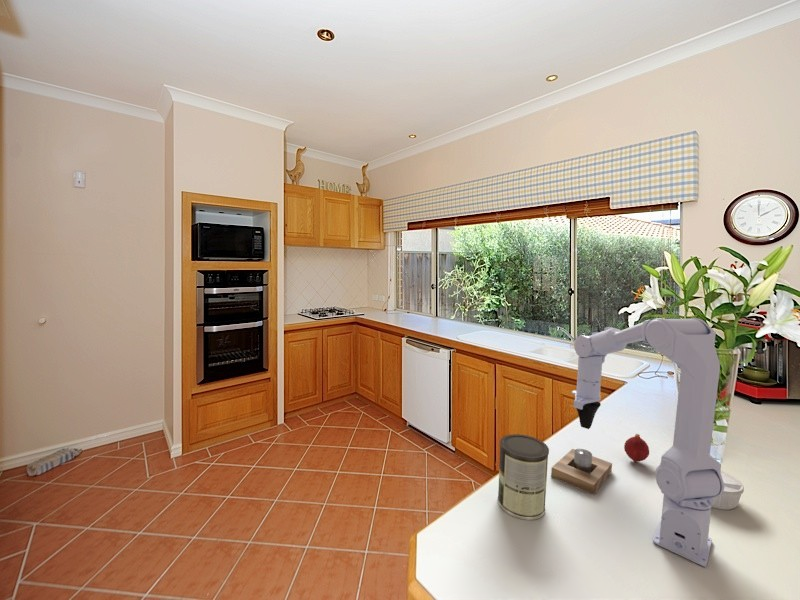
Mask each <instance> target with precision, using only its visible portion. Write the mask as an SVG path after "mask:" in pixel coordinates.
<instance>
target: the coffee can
mask: <svg viewBox="0 0 800 600" xmlns="http://www.w3.org/2000/svg"><path fill="white" fill-rule="evenodd" d="M549 453H550V448H549V446H548V445H547V444H546V443H545V442H544V441H542V440H540V439H538V438H537V437H533V436H530V435H525V434H519V433H518V434H514V433H513V434H507V435H505V436H503V437H501V438H500V439H499V470H498V472H499V473H498V492H497V494H498V495H497V504H498V505H499V507H500V508H501V510H503V511H504V512H505V513H506V514H508V515H509V516H512V517H514V518H516V519H520V520H524V521H525V520H526V521H532V520H537V519H540V518H542V517H543V516H544V515H545V513H546V495H547V481H548V480H547V479H548V478H547V477H548V464H549V463H548V461H549V460H548V459H549Z"/></svg>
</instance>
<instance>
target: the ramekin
mask: <svg viewBox="0 0 800 600" xmlns="http://www.w3.org/2000/svg"><path fill="white" fill-rule="evenodd" d="M721 476H722V479H723V482H724V491H723V493H722V494H721V495H720V496H717V497H715V499H714V503H712V505H711V508H714V509H716V510H717V509H718V510H725V511H726V510H733V509H735V508H736V507H738V505H739V502H740V499H741V497H742V495H743V493H744V490H745V487H744V484H743V483H742V481H740V480H739V479H737V478H736V477H735V476H733V475H731V474H729V472H725V471H723V470H721Z"/></svg>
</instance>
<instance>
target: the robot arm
mask: <svg viewBox="0 0 800 600" xmlns="http://www.w3.org/2000/svg"><path fill="white" fill-rule="evenodd" d="M716 335H717V333H716V331H715V330H714V329H713V328H712V327H711V326H710V325H709V324H708V323H707V322H705V320H702V319H701V318H697V317H696V318H695V317H691V318H663V317H662V318H661V317H660V318H658V317H656V318H653V319H648V320H644V321H642V322H640V323H638V324H635V325H632V326H629V327H627V328H624V329H618V328H616V327H612V326H607V327H604V329H603V330H602V331H600V332H598V331H595V332H591V334H590V335H583V334H581V335H579V336H577V337H576V339H575V340H574V345H573V346H574V351H575V353H576V355H577V356H578V359H577V360H578V361H577V362H578V363H577V373H576V375H577V376H576V377H577V378H576V390H572V391H571V395H573V396H575V397H574V400H573V409H574V408H575V409H576V411H577V414H578V419H579V424H580V427H581V428H583V429H587V430H589V429H591V427H592V424H593V422H594V419H595V416H596V414H597V411H599V410H598V409H599V408H600V406H601V402H600V401H601V384H602V383H601V382H602V370H603V369H602V368H603V364H604V363H605V358H606V357H607V355H608V354H612V353H617V352H623V351H624V350H625V349H626V347H628V346H627V345H628V344H632V343H636V342H641V341H643V342H645V343H648V345H649V346H650V347H652V348H653V349H654V350H656V351H657V352H658V353H660V354H662V355H663V356H664V357H666V358H667V359H668V360H670V361H671V362H673V363H675V365H677V367H678V368H679V369H680V374H679V375H680V377H679V383H678V393H677V404H676V413H675V420H674V421H675V422H674V424H675V425H674V432H673V439H672V440H673V441H672V446H671V447H670V448H669V449H668V450H666V451H665V452H664V453H663V454H662V455H661V459H660V464H659V465H658V466H657V467H656V469H655V473H654V475H655V476H654V478H655V481H656V484H657V486H658V488H659V490H660V493H662V494H663V497H662V500H663V501H662V509H661V518H660V523H659V525H658V527H657V530H656V532H655V534H654V535H653V539H652V543H654V544H655V545H657V546H659V547H662V548H663V549H666V550H668V551H670V552H672V553H674V554H676V555H679V556H680V557H683V558H685V559H687V560H689V561H691V562H693V563H695V564H697V565H700V566H702V567H704V568H705V567H707V566H708V561H709V556H710V552H711V548H712V543H713V541H712V540H713V539H712V538H710V537H709V535H710V534H709V532H710V526H711V525H710V524H711V513H712V507H711V505H712V503H714V499H715V497H717V496H720V495H721V494H722V493H723V491H724V482H723V479H722V476H721V471H722V469H721V468H722V464H721V463H720V462H719V461H718V460H717V459H716V458H715V457H713V455H712V454H711V448H712V447H711V446H712V439H713V432H714V422H715V413H716V404H717V396H718V395H717V394H718V387H719V379H720V370H721V363H720V359H719V356H718V353H717V350H716V347H715V343H716Z"/></svg>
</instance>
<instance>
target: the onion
mask: <svg viewBox="0 0 800 600" xmlns="http://www.w3.org/2000/svg"><path fill="white" fill-rule="evenodd" d="M623 448H624V452H625V453H626V456H628V458H630V459H631V461H633V462H634V463H639V462H642V461H645V460H646V459H647V458H648V457H649V455H650V447H649V445H648V444H647V442H646V441H645V440H644V439H642V438H641V436H640V434H639V433H635V435H634V436H631V437H629V438H628V439H627V440H625V442H624V446H623Z"/></svg>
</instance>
